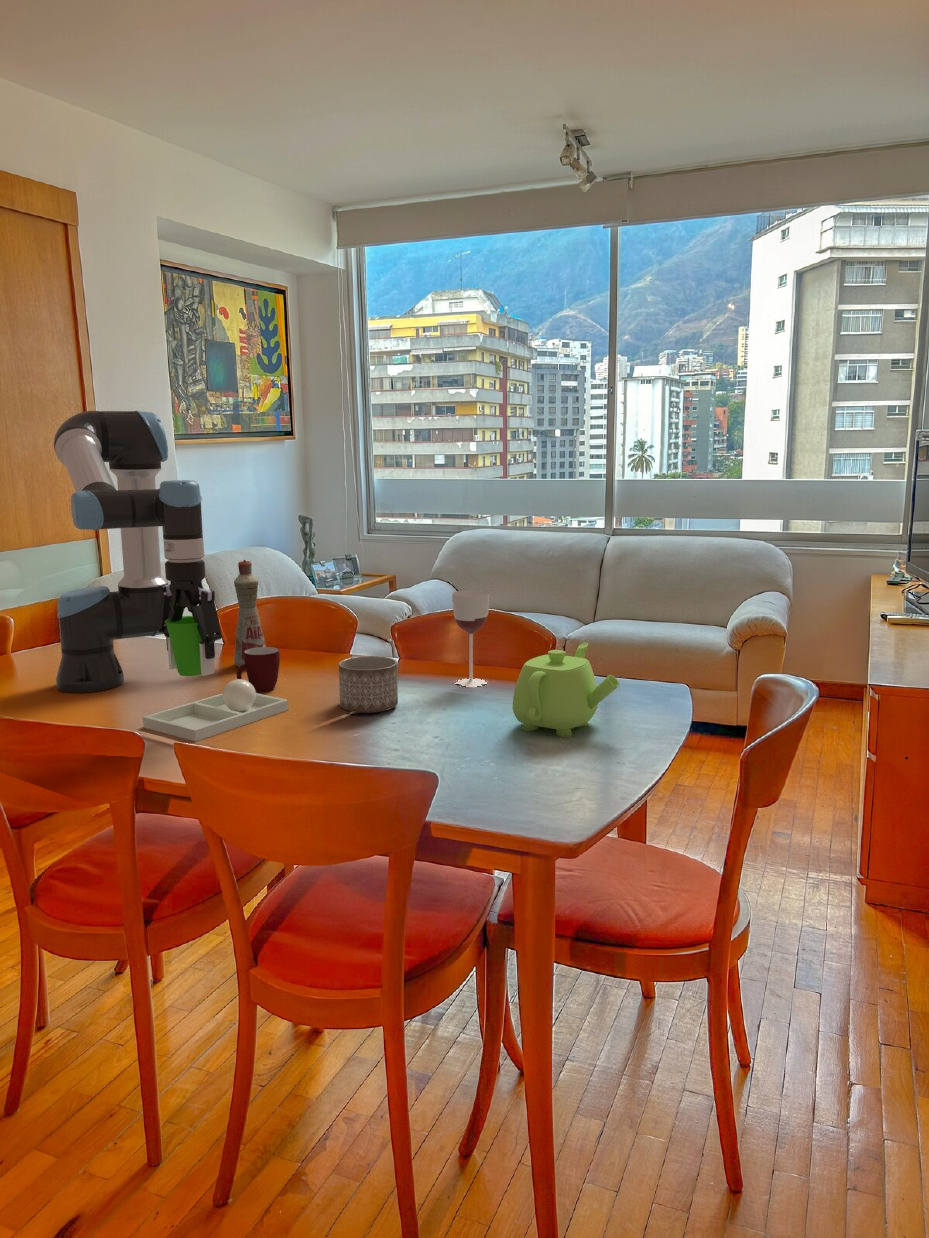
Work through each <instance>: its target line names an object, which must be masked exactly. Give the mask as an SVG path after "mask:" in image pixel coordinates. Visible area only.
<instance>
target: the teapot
mask: <svg viewBox="0 0 929 1238" xmlns="http://www.w3.org/2000/svg"><path fill="white" fill-rule="evenodd" d="M588 647H589V643H588V642H582V643H581V644H579V645H578V647H577V649H576V651H575V653H574V656H570V655H566V653H567V652H566V651H564V650H561V649H551V650H549V651H547V654H544V655H539V656H536V657H534V658H531V659H529V660H527V661H526V662H525V663H524V664H523V666H522V668H521V671H520V673H519V676H518V678H517V681H516V684H515V688H514V692H513V696H512V711H513V714H514V716H515V719H516V720H517V721H518V722H519V723H522V724H524V725H523V726H522V728H521V729H522V730H524V731H529V732H530V731H531V732H532V731H533V732H534V731H536V730H537V731H538V729H539V727H541V728H544V729H554V730H556V732H555V733H556V736H557V737H560V738H569V737H570V738H571V737H572V736H573V732H572V729H574V728H577V727H580V728H582V727H583V728H585V727H588V726H589V723H588V722H589V721H590V720H591V719H593V716H594V715H595V713H596V711H597V710H598V708H599V703H601V702H602V701H603V700H604V699H605V698H607V697H608V696H609V695H610V694H611V693H612V692H614V691H615V690H617V689H618V688H619V687H620V682H619V680H618V679H617V678H616V677H615V676H613V675H610V674H609V675H608V676H606V677H605V678H604V679H603V680H602V681H601V682H599V684H598V685H597V681H596V677H595V674H594V672H593V668H592V665H591V662H590V661H589V660H588V659H587V658H586V652H587V649H588Z"/></svg>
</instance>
